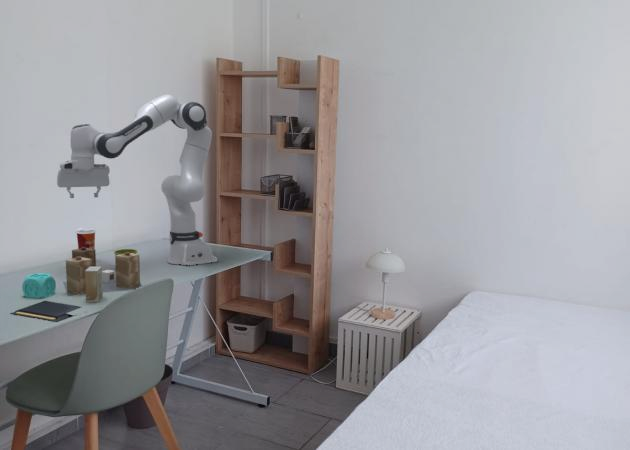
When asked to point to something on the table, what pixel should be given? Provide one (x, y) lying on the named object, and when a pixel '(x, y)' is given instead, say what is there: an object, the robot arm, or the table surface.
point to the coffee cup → (86, 237)
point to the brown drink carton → (85, 254)
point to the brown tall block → (127, 270)
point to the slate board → (105, 288)
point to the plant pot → (125, 251)
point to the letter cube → (108, 276)
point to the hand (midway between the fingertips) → (84, 197)
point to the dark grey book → (47, 311)
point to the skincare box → (93, 284)
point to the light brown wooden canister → (77, 274)
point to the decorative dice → (39, 285)
